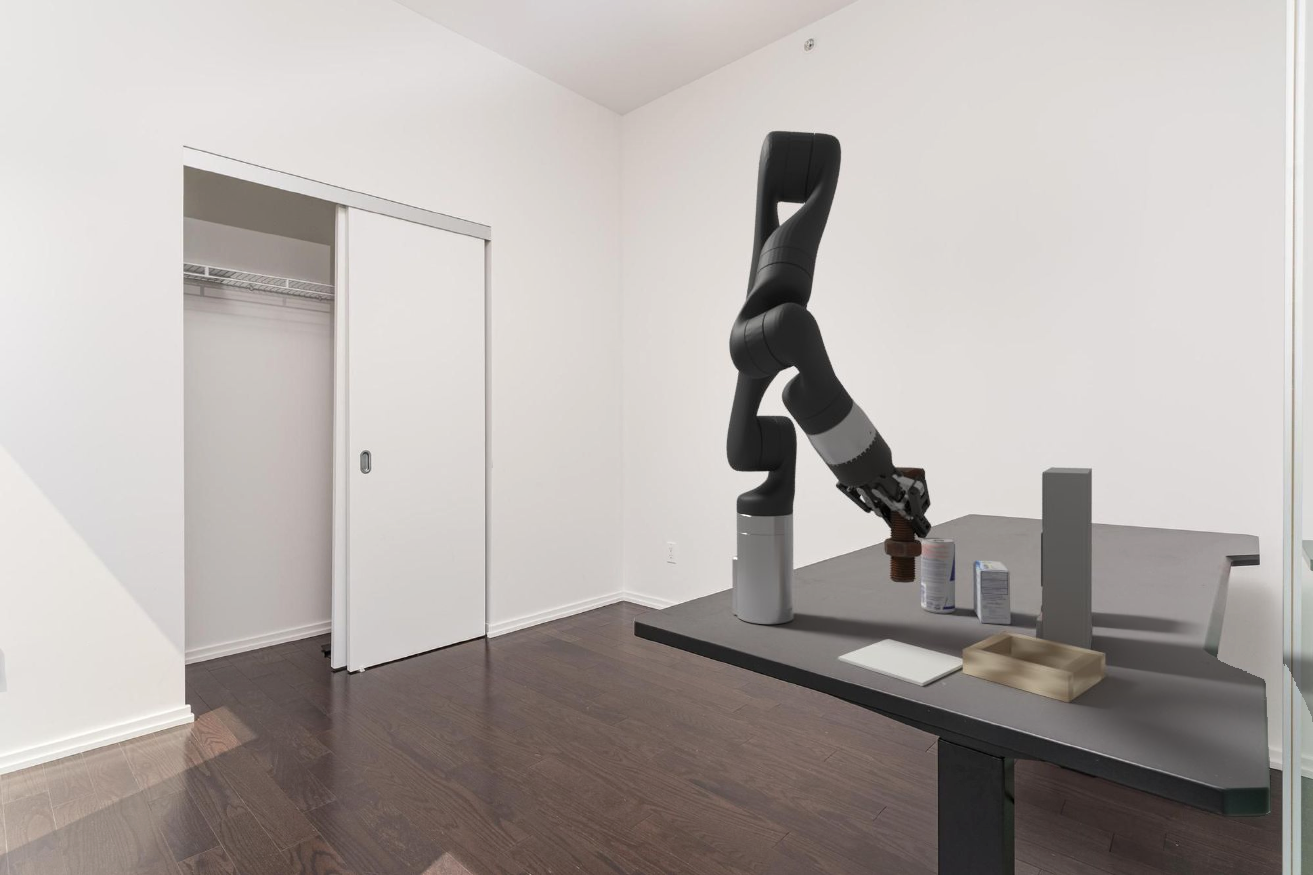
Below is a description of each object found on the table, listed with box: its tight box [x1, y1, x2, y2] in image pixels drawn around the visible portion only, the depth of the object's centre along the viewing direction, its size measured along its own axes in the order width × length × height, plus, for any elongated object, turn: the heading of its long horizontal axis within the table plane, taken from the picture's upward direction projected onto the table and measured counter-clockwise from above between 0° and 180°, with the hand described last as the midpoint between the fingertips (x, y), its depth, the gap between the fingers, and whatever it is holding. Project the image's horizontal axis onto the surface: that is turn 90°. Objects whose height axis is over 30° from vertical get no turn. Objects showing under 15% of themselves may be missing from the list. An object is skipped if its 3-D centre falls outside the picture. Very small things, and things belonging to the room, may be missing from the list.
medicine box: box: [972, 560, 1011, 626], centre depth 109 cm, size 8×4×9 cm, turn 162°
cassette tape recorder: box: [1035, 467, 1094, 650], centre depth 95 cm, size 14×6×25 cm, turn 145°
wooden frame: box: [962, 630, 1106, 704], centre depth 83 cm, size 12×12×3 cm
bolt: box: [883, 466, 926, 584], centre depth 88 cm, size 6×5×15 cm
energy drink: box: [920, 537, 956, 615], centre depth 114 cm, size 5×5×12 cm
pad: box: [837, 638, 963, 687], centre depth 88 cm, size 12×12×1 cm
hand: (913, 531), depth 89 cm, fingers closed on bolt, 3 cm apart
